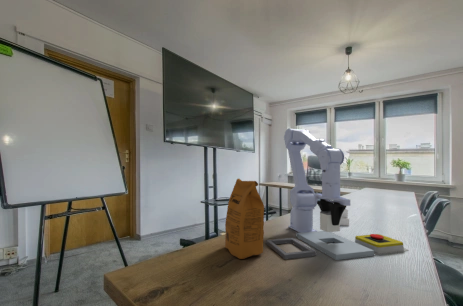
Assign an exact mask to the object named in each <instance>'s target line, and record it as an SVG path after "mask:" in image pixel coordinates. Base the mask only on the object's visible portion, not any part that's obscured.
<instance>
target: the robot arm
mask: <svg viewBox="0 0 463 306" xmlns="http://www.w3.org/2000/svg"><path fill="white" fill-rule="evenodd" d="M283 140H284V146H285V149H287V153H288V156H289V158H288V159H289V161H290V167H291V171H292V173H291V174H292V177H293V182H294V187H292V189H290V191H289V195H290V196H289V201H290V205H291V207H292V208H291V210H290V215H289V216H290V219H289V225H288V228H290V229H292V230H294V231H296V233H303V232H317V231H318V230H317V229H315V228H314V225H313V224H314V219H313V218H314V216H313V215H314V213H313V211H314V210H315V208H316V207H317V206H318V209H320V211H331V219H332V225H334V226H335V225H339V222H340V219H341V216H342V213H343V211H344V210H345V209H347V207H350V206H351V199H350V198H349V199H348V198H346V197H343V196H341V165H342V164H343V163H344V161H345V153H344V151H342V149H341V148H333V147H332V145H331V144H328V143H327V142H325V139H323V138H317V139H316V138H315V137H314V136H313V135H312V134H311V131H310V130H308V129H307V128H306V129H301V128H299V129H298V128H290V127H289V128H286V130H285V131H284V136H283ZM306 146H309V149H310V151H311V152H312V153H313V154H314V155H315V156H316V157H317V160H318V163H319V166H320V170H321V193H316V192H315V190H314V188H313V187H312V186H311V185H309V184H308V181H307V176H306V172H305V168H304V162H303V157H302V153H301V151H302V150H304V149H305V148H306Z"/></svg>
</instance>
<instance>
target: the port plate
mask: <svg viewBox="0 0 463 306" xmlns="http://www.w3.org/2000/svg"><path fill="white" fill-rule="evenodd" d="M295 234H296V235H295V237H296V238H297V239H299V240H300V241H302V242H304V243H306V244H308V245H309V246H311V247H312V248H314V249H316V250H318V251H320V252H322V253H323V254H325V255H326V256H329V257H330V258H332V259H333V260H335V261H341V260H347V259H357V258H365V257H373V256H375V254H374V250H372V249H369V248H367V247H365V246H362V245H360V244H358V243H355V241H353V240H351V239H348V238H347V237H343V236H341V235H339V234H337V233H335V232H326V231H323V230H317V232H303V233H299V232H296V233H295Z"/></svg>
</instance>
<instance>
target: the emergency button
mask: <svg viewBox="0 0 463 306" xmlns="http://www.w3.org/2000/svg"><path fill="white" fill-rule="evenodd" d="M354 242H355V243H358V244H360V245H362V246H365V247H367V248H369V249H372V250H374V256H375V255H376V256H377V255H378V256H380V255H386V254H394V253H401V252H408V251H409V249H408V248H405V247H404V242H403V241H400V240H398V239H395V238H392V237H389V236H386V235H383V234H380V233H379V234H378V233H371V234H362V235H355V238H354Z"/></svg>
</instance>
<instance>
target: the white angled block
mask: <svg viewBox="0 0 463 306" xmlns="http://www.w3.org/2000/svg"><path fill="white" fill-rule="evenodd" d="M348 212H349V210H348V209H347V208H345V210H344V211H343V213H342V216H341V219H340V226H350V218H349V215H348V214H349V213H348Z"/></svg>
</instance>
